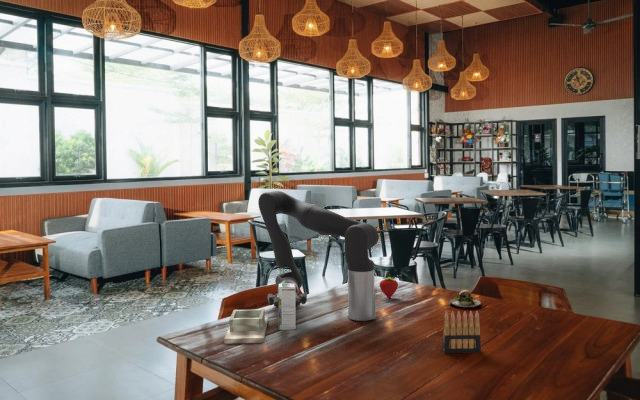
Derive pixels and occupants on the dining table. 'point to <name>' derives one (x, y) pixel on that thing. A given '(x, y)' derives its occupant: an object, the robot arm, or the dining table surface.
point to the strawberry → (388, 286)
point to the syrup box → (287, 306)
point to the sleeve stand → (247, 326)
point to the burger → (464, 300)
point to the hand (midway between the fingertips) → (286, 304)
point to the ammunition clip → (461, 334)
